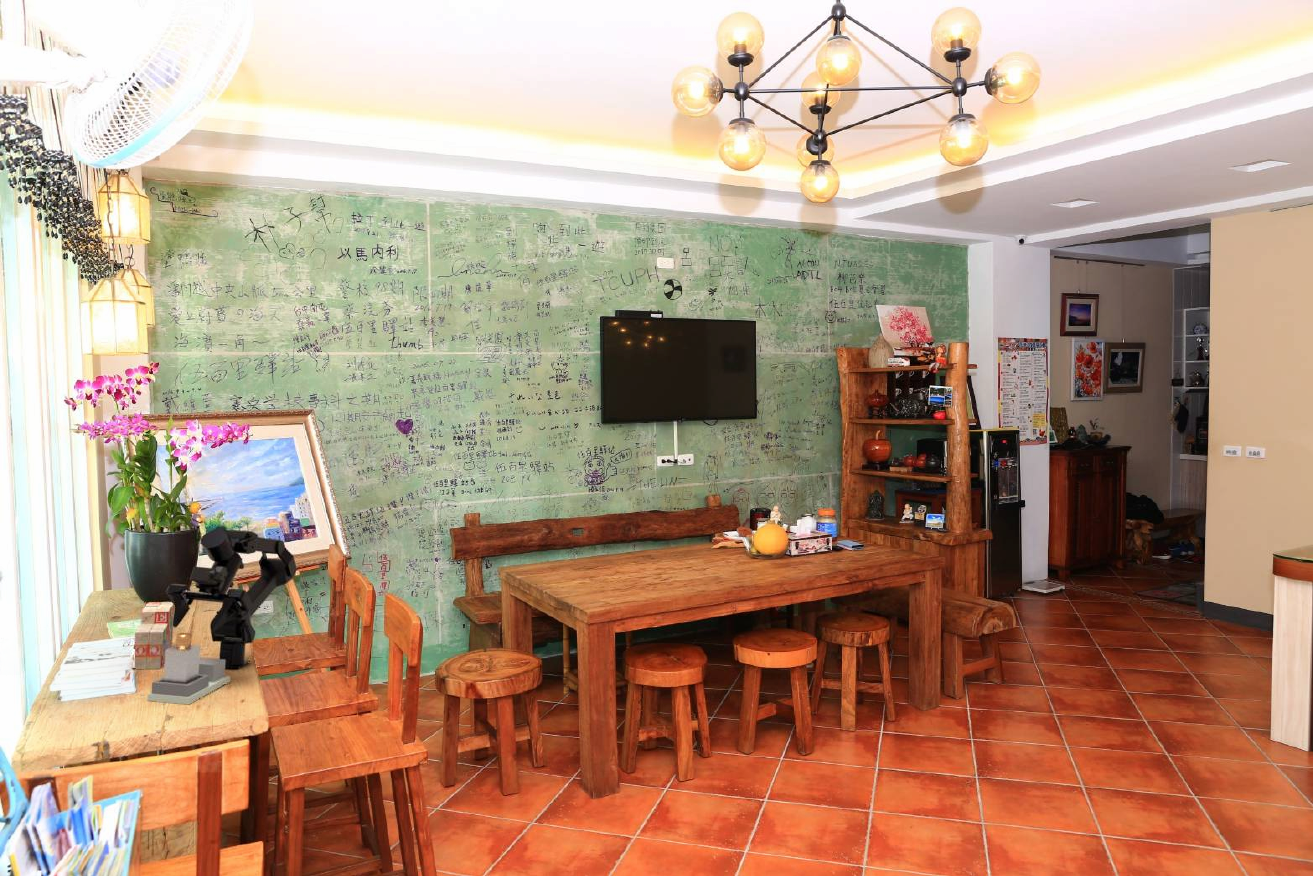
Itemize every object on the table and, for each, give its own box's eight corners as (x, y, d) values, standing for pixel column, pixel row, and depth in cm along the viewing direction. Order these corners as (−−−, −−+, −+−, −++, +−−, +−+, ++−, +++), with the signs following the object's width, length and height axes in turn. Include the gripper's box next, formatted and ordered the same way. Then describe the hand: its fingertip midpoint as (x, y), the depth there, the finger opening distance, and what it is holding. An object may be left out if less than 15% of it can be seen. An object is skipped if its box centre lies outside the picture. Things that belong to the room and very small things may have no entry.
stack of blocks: (160, 669, 217) (164, 619, 217) (131, 670, 215) (134, 619, 215) (172, 647, 237) (175, 601, 237) (145, 647, 235) (148, 601, 234)
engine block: (176, 685, 201) (179, 630, 201) (197, 687, 201) (201, 632, 201) (162, 692, 196) (166, 636, 196) (184, 694, 196) (188, 638, 196)
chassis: (191, 679, 211) (193, 656, 211) (230, 682, 211) (231, 659, 211) (147, 700, 194) (148, 675, 194) (188, 704, 194) (190, 679, 194)
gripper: (172, 550, 211) (140, 605, 200) (249, 556, 210) (220, 612, 199) (189, 577, 219) (159, 632, 208) (263, 583, 218) (236, 638, 207)
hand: (193, 628), depth 206 cm, fingers open, 9 cm apart
